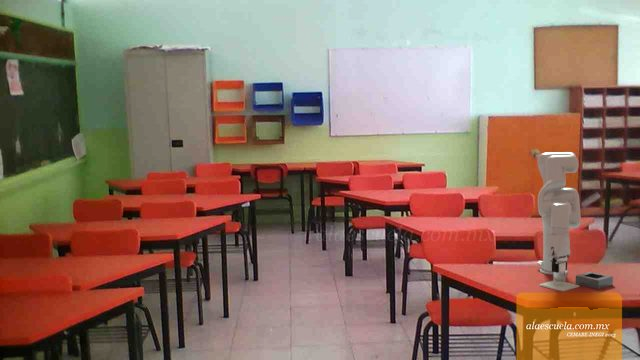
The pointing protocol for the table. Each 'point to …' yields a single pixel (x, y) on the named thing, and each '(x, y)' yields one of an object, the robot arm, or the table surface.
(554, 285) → the sage mat
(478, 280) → the table surface
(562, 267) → the end cover
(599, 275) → the bore housing
